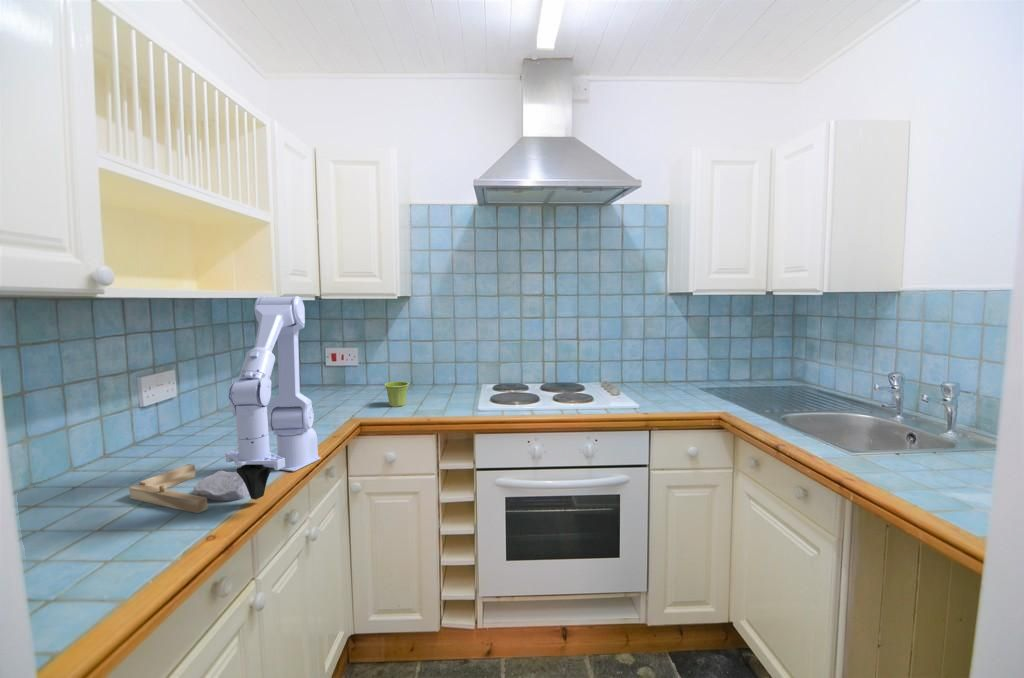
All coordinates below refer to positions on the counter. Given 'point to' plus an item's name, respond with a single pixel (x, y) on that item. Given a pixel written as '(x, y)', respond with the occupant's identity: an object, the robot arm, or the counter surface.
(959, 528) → the counter surface
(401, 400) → the plant pot
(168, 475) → the fence
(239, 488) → the stone block
